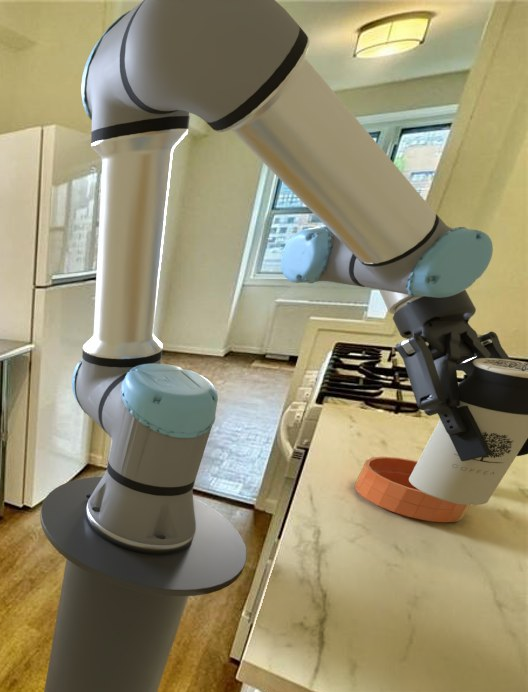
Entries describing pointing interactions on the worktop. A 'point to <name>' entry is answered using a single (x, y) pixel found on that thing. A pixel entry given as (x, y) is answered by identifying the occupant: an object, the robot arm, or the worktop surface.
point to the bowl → (403, 491)
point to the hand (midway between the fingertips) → (504, 455)
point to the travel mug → (496, 427)
